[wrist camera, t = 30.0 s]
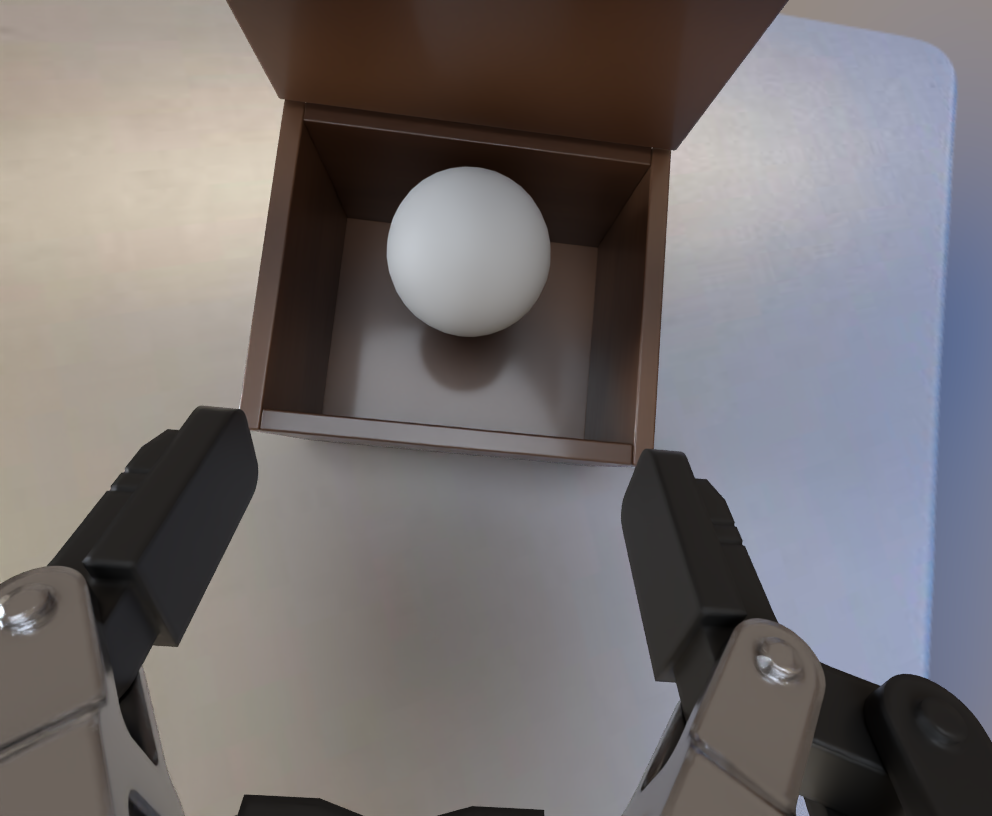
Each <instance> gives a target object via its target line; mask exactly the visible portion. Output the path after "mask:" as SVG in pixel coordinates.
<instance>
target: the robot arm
mask: <svg viewBox="0 0 992 816" xmlns="http://www.w3.org/2000/svg"><path fill="white" fill-rule="evenodd" d="M257 480H258V463H257V459H256V455H255V450H254V446H253V442H252V438H251V434H250V430H249V425H248V421H247V417H246V415H245V413H244V411H243V410H241V409H233V408H222V407H211V406H199V407H197V408H196V409H195V410H194V411H193V412H192V414H191V415H190V416H189V418H188V419H187V420H186V422H185V423H184V424H183V426H182V427H181V428H180V430H171V429H167V430H166V431H164V432H163V433H161V434H160V435H159V436H157V437H156V438H154V439H153V440H151V441H150V442H148V443H147V444H145V445H144V446H142V447H141V449H140V450H139V451H138V452H137V454H136V455H135V456H134V457H133V459H132V460H131V461H130V462H129V464H128V465H127V466H126V467H125V472H124V473H121V474H120V475H119V476H118V478H117V479H116V480H115V481H114V483H113V484H112V485H111V490H110V491H106V493H105V494H104V495H103V497H102V498H101V499H100V500H99V502H98V503H97V504H96V505H95V507H94V508H93V509H92V510H91V512H90V513H89V514H88V515H87V517H86V518H85V519H84V521H83V522H82V523H81V524H80V526H79V527H78V528H77V529H76V531H75V532H74V533H73V534H72V536H71V537H70V538H69V539H68V541H67V542H66V543H65V545H64V546H63V547H62V548H61V550H60V551H59V552H58V553H57V555H56V556H55V557H54V558H53V560H52V561H51V562H50V563H49V564H48V565H47V566H46V567H41V568H36V569H32V570H29V571H26V572H23V573H21V574H19V575H16V576H14V577H12V578H10V579H8V580H6V581H4V582H3V583H1V584H0V816H185V814H184V811H183V808H182V805H181V802H180V800H179V797H178V795H177V792H176V790H175V788H174V786H173V784H172V781H171V778H170V776H169V773H168V769H167V766H166V762H165V757H164V753H163V749H162V744H161V740H160V736H159V732H158V727H157V723H156V719H155V714H154V710H153V706H152V702H151V697H150V693H149V689H148V685H147V680H146V676H145V672H144V669H143V667H142V664H143V662H144V660H145V659H146V657H147V655H148V653H149V651H150V649H151V647H152V646H153V645H156V646H171V647H178V645H179V643H180V641H181V639H182V637H183V635H184V633H185V631H186V629H187V627H188V625H189V623H190V621H191V619H192V617H193V615H194V613H195V611H196V609H197V607H198V605H199V603H200V601H201V599H202V597H203V595H204V593H205V591H206V589H207V587H208V585H209V583H210V581H211V579H212V577H213V575H214V573H215V571H216V569H217V567H218V565H219V563H220V561H221V559H222V557H223V555H224V553H225V551H226V549H227V547H228V545H229V543H230V541H231V539H232V537H233V535H234V533H235V531H236V529H237V527H238V525H239V523H240V521H241V519H242V517H243V515H244V513H245V511H246V508H247V506H248V504H249V502H250V500H251V498H252V496H253V494H254V492H255V489H256V485H257ZM621 523H622V529H623V534H624V539H625V543H626V548H627V552H628V557H629V562H630V566H631V571H632V576H633V580H634V585H635V589H636V594H637V599H638V603H639V608H640V613H641V617H642V622H643V626H644V631H645V636H646V640H647V645H648V650H649V654H650V659H651V663H652V668H653V673H654V677H655V681H660V682H675V683H676V684H677V688H678V692H679V696H680V701H679V702H678V704H677V705H676V707H675V709H674V711H673V713H672V715H671V717H670V720H669V722H668V724H667V726H666V728H665V730H664V732H663V734H662V736H661V738H660V740H659V743H658V745H657V747H656V749H655V751H654V753H653V755H652V757H651V759H650V761H649V764H648V766H647V768H646V770H645V772H644V774H643V776H642V778H641V780H640V782H639V785H638V787H637V789H636V791H635V793H634V795H633V797H632V799H631V800H630V802H629V804H628V806H627V807H626V809H625V811H624V812H623V814H622V815H621V816H796V804H797V800H798V796H799V795H801V796H803V797H804V800H805V803H806V806H807V809H808V812H809V815H810V816H992V742H991V740H990V738H989V737H988V735H987V733H986V732H985V730H984V729H983V727H982V726H981V724H980V723H979V721H978V720H977V718H976V717H975V716H974V715H973V713H972V712H971V711H970V710H969V709H968V708H967V707H966V706H965V705H964V704H963V703H962V702H961V701H960V700H959V699H957V698H956V697H955V696H954V695H953V694H951V693H950V692H948V691H947V690H946V689H945V688H943V687H941V686H940V685H938V684H936V683H934V682H932V681H930V680H928V679H926V678H923V677H920V676H917V675H912V674H900V675H896V676H894V677H892V678H890V679H889V680H888V681H886V682H885V683H884V684H883V685H881V686H879V685H877V684H874V683H871V682H869V681H866V680H864V679H861V678H858V677H856V676H853V675H851V674H848V673H845V672H843V671H840V670H838V669H835V668H832V667H830V666H828V665H825V664H823V663H821V662H819V660H818V658H817V657H816V655H815V654H814V652H813V651H812V650H811V648H810V647H809V646H808V645H807V644H806V643H805V642H804V641H803V640H802V639H801V638H800V637H799V636H798V635H797V634H795V633H794V632H793V631H791V630H790V629H788V628H786V627H785V626H783V625H781V624H779V623H778V621H777V619H776V617H775V615H774V613H773V611H772V608H771V606H770V604H769V601H768V599H767V597H766V594H765V592H764V590H763V587H762V585H761V583H760V580H759V578H758V576H757V573H756V571H755V569H754V566H753V564H752V562H751V559H750V557H749V555H748V552H747V550H746V548H745V546H743V545H742V538H741V536H740V534H739V531H738V529H737V527H735V526H734V523H735V522H734V520H733V517H732V515H731V513H730V510H729V508H728V506H727V503H726V501H725V499H724V498H723V497H722V496H721V495H720V494H719V493H718V491H717V490H716V489H715V488H714V487H713V486H712V485H711V484H710V483H709V481H708V480H707V479H696V478H695V477H694V475H693V472H692V470H691V467H690V465H689V462H688V459H687V457H686V455H685V454H684V453H683V452H679V451H668V450H657V449H644V450H643V451H642V453H641V455H640V457H639V460H638V462H637V465H636V467H635V470H634V473H633V475H632V478H631V480H630V483H629V485H628V488H627V490H626V493H625V495H624V498H623V502H622V509H621ZM235 816H363V815H360V814H358V813H355V812H353V811H350V810H348V809H345V808H343V807H340V806H338V805H335V804H333V803H330V802H328V801H325V800H323V799H320V798H303V797H283V796H264V795H244V797H243V800H242V803H241V806H240V809H239V812H238V815H235ZM438 816H544V810H536V809H517V808H497V807H478V806H471V807H468V808H464V809H460V810H456V811H453V812H449V813H445V814H442V815H438Z"/></svg>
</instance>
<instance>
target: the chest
mask: <svg viewBox="0 0 992 816" xmlns="http://www.w3.org/2000/svg"><path fill="white" fill-rule="evenodd" d="M670 159H671V150H667V149H659V148H651V147H644V146H636V145H629V144H621V143H613V142H606V141H598V140H590V139H583V138H575V137H568V136H560V135H552V134H545V133H537V132H529V131H522V130H514V129H507V128H499V127H491V126H484V125H476V124H468V123H461V122H453V121H446V120H438V119H430V118H423V117H415V116H407V115H400V114H392V113H384V112H377V111H369V110H362V109H354V108H346V107H339V106H331V105H323V104H316V103H308V102H301V101H293V100H285V102H284V108H283V115H282V122H281V129H280V136H279V142H278V149H277V156H276V163H275V170H274V176H273V183H272V190H271V197H270V204H269V210H268V217H267V224H266V231H265V238H264V244H263V251H262V258H261V265H260V272H259V278H258V285H257V292H256V299H255V305H254V312H253V319H252V326H251V333H250V339H249V346H248V353H247V360H246V367H245V373H244V380H243V387H242V394H241V401H240V407H239V409H241V410H243V411H244V413H245V415H246V417H247V421H248V425H249V430H251V431H257V432H264V433H270V434H276V435H282V436H289V437H295V438H301V439H307V440H318V441H328V442H339V443H350V444H360V445H371V446H382V447H392V448H403V449H414V450H425V451H435V452H446V453H457V454H467V455H478V456H489V457H499V458H510V459H521V460H532V461H542V462H553V463H564V464H574V465H585V466H613V467H636V465H637V462H638V460H639V457H640V455H641V453H642V451H643V450H644V449H654V434H655V417H656V400H657V383H658V366H659V348H660V331H661V314H662V297H663V279H664V262H665V245H666V228H667V211H668V193H669V176H670ZM457 167H479V168H484V169H488V170H492V171H495V172H498V173H500V174H502V175H504V176H506V177H508V178H510V179H511V180H513V181H514V182H515V183H517V184H518V185H520V186H521V187H522V188H523V189H524V190H525V191H526V192H527V193H528V194H529V195H530V196H531V197H532V199H533V201H534V202H535V204H536V205H537V207H538V208H539V210H540V212H541V214H542V216H543V219H544V221H545V224H546V226H547V229H548V234H549V240H550V249H551V252H550V268H549V273H548V277H547V281H546V283H545V285H544V287H543V290H542V292H541V294H540V296H539V298H538V300H537V301H536V302H535V304H534V305H533V306H532V308H531V309H530V311H529V312H527V313H526V314H525V315H524V316H523V317H522V318H521V319H520V320H519V321H517V322H516V323H514V324H512V325H511V326H509V327H507V328H506V329H503V330H501V331H498V332H495V333H492V334H489V335H484V336H477V337H463V336H456V335H452V334H447V333H444V332H442V331H440V330H437V329H435V328H433V327H431V326H429V325H427V324H426V323H424V322H423V321H422V320H420V319H419V318H417V317H416V316H415V315H414V314H413V313H412V312H411V311H410V310H409V309H408V308H407V307H406V306H405V304H404V303H403V301H402V300H401V298H400V296H399V295H398V293H397V292H396V289H395V286H394V284H393V281H392V278H391V276H390V273H389V268H388V262H387V240H388V234H389V230H390V226H391V223H392V219H393V217H394V215H395V213H396V211H397V209H398V207H399V205H400V204H401V202H402V201H403V200H404V198H405V197H406V196H407V195H408V193H409V192H410V191H411V190H412V189H413V188H414V187H415V186H416V185H418V184H419V183H420V182H421V181H422V180H424V179H426V178H428V177H429V176H431V175H433V174H435V173H437V172H440V171H444V170H447V169H450V168H457Z"/></svg>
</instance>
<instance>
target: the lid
mask: <svg viewBox="0 0 992 816" xmlns="http://www.w3.org/2000/svg"><path fill="white" fill-rule="evenodd" d="M226 1H227V3H228V5H229V7H230V9H231V10H232V12H233V14H234V16H235V18H236V20H237V21H238V23H239V25H240V27H241V29H242V31H243V32H244V34H245V36H246V38H247V40H248V42H249V44H250V45H251V47H252V49H253V51H254V53H255V55H256V56H257V58H258V60H259V62H260V64H261V66H262V68H263V69H264V71H265V73H266V75H267V77H268V79H269V80H270V82H271V84H272V86H273V88H274V90H275V91H276V93H277V95H278V97H279V98H280V99H285V100H293V101H301V102H308V103H316V104H323V105H331V106H339V107H346V108H354V109H362V110H369V111H377V112H384V113H392V114H400V115H407V116H415V117H423V118H430V119H438V120H446V121H453V122H461V123H468V124H476V125H484V126H491V127H499V128H507V129H514V130H522V131H529V132H537V133H545V134H552V135H560V136H568V137H575V138H583V139H590V140H598V141H606V142H613V143H621V144H629V145H636V146H644V147H651V148H659V149H667V150H676V149H677V148H678V147H679V145H680V144H681V143H682V141H683V140H684V139H685V137H686V136H687V135H688V133H689V132H690V131H691V129H692V128H693V127H694V125H695V124H696V123H697V121H698V120H699V119H700V117H701V116H702V115H703V113H704V112H705V111H706V109H707V108H708V107H709V106H710V104H711V103H712V102H713V100H714V99H715V98H716V96H717V95H718V94H719V92H720V91H721V90H722V88H723V87H724V86H725V84H726V83H727V82H728V80H729V79H730V78H731V76H732V75H733V74H734V72H735V71H736V70H737V68H738V67H739V66H740V64H741V63H742V62H743V60H744V59H745V58H746V56H747V55H748V54H749V52H750V51H751V50H752V48H753V47H754V46H755V44H756V43H757V42H758V40H759V39H760V38H761V36H762V35H763V34H764V32H765V31H766V30H767V28H768V27H769V26H770V24H771V23H772V22H773V20H774V19H775V18H776V16H777V15H778V14H779V12H780V11H781V10H782V8H783V7H784V6H785V4H786V3H787V2H788V0H226Z"/></svg>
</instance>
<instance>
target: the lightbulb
mask: <svg viewBox="0 0 992 816" xmlns="http://www.w3.org/2000/svg"><path fill="white" fill-rule="evenodd" d="M550 252H551V249H550V240H549V234H548V229H547V226H546V224H545V221H544V219H543V216H542V214H541V212H540V210H539V208H538V207H537V205H536V204H535V202H534V201H533V199H532V197H531V196H530V195H529V194H528V193H527V192H526V191H525V190H524V189H523V188H522V187H521V186H520V185H518V184H517V183H515V182H514V181H513V180H511V179H510V178H508V177H506V176H504V175H502V174H500V173H498V172H495V171H492V170H488V169H484V168H479V167H457V168H450V169H447V170H444V171H440V172H437V173H435V174H433V175H431V176H429V177H428V178H426V179H424V180H422V181H421V182H420V183H419V184H418V185H416V186H415V187H414V188H413V189H412V190H411V191H410V192H409V193H408V195H407V196H406V197H405V198H404V200H403V201H402V202H401V204H400V205H399V207H398V209H397V211H396V213H395V215H394V217H393V219H392V223H391V226H390V230H389V234H388V240H387V262H388V268H389V273H390V276H391V278H392V281H393V284H394V286H395V289H396V292H397V293H398V295H399V296H400V298H401V300H402V301H403V303H404V304H405V306H406V307H407V308H408V309H409V310H410V311H411V312H412V313H413V314H414V315H415V316H416V317H417V318H419V319H420V320H422V321H423V322H424V323H426V324H427V325H429V326H431V327H433V328H435V329H437V330H440V331H442V332H444V333H447V334H452V335H456V336H463V337H477V336H484V335H489V334H492V333H495V332H498V331H501V330H503V329H506V328H507V327H509V326H511V325H512V324H514V323H516V322H517V321H519V320H520V319H521V318H522V317H523V316H524V315H525V314H526V313H527V312H529V311H530V309H531V308H532V306H533V305H534V304H535V302H536V301H537V300H538V298H539V296H540V294H541V292H542V290H543V287H544V285H545V283H546V281H547V277H548V273H549V268H550Z"/></svg>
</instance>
